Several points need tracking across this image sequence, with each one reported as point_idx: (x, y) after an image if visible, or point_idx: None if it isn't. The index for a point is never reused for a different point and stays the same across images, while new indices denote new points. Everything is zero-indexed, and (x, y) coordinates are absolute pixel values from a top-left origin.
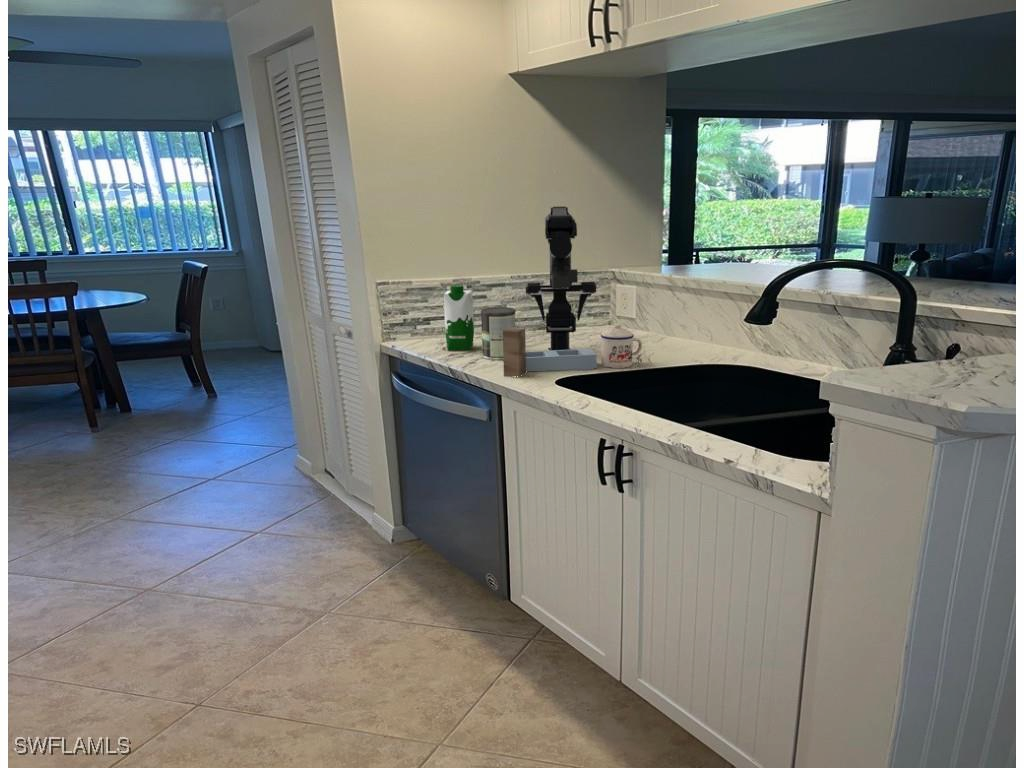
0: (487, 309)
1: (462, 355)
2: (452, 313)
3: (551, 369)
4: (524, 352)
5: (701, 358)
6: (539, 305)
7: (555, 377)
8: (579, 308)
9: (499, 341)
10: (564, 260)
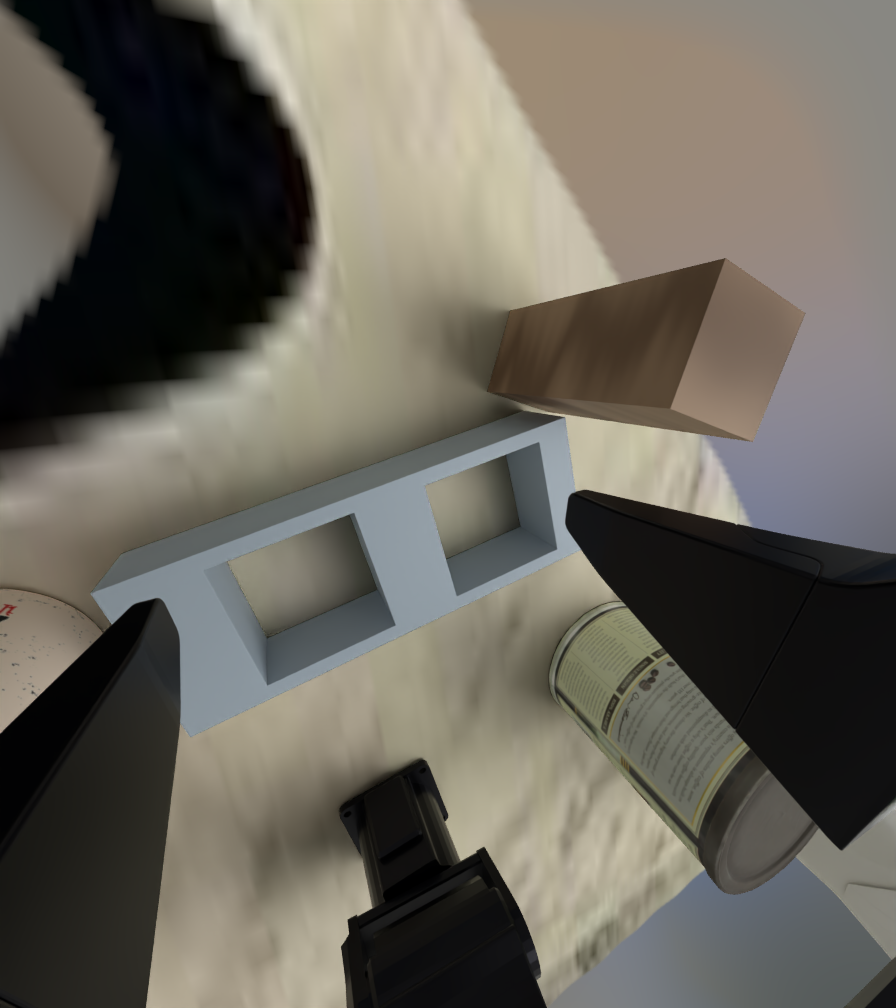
0: None
1: None
2: None
3: (379, 464)
4: (555, 379)
5: None
6: (787, 542)
7: (332, 319)
8: (46, 750)
9: (654, 648)
10: None
